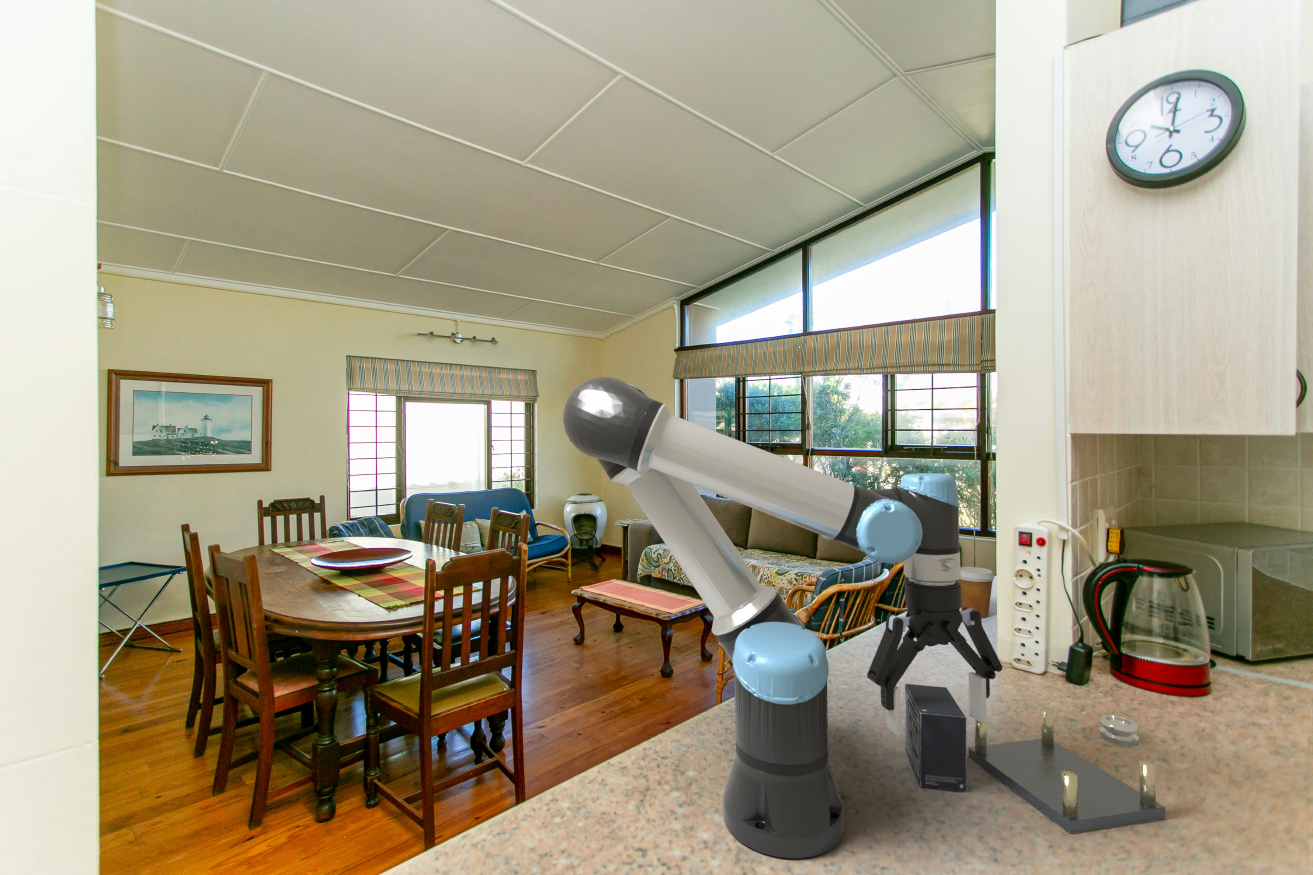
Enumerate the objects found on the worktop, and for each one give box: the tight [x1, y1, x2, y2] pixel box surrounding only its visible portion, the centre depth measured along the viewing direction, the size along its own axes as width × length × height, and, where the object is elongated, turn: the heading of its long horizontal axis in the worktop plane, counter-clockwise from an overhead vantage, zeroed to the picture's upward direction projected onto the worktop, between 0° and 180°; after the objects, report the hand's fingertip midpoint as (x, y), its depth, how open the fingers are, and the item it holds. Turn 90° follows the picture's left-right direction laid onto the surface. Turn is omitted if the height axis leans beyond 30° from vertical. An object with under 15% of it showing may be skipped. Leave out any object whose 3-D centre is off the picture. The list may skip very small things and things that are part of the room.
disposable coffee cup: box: [957, 566, 996, 619], centre depth 162 cm, size 10×10×12 cm
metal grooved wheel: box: [1098, 714, 1140, 748], centre depth 96 cm, size 5×3×5 cm
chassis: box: [967, 706, 1166, 835], centre depth 84 cm, size 14×18×6 cm
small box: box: [904, 683, 967, 792], centre depth 88 cm, size 11×6×10 cm, turn 168°
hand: (937, 725), depth 88 cm, fingers open, 13 cm apart
